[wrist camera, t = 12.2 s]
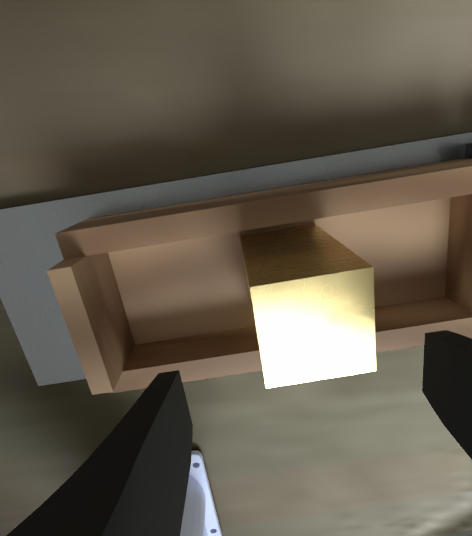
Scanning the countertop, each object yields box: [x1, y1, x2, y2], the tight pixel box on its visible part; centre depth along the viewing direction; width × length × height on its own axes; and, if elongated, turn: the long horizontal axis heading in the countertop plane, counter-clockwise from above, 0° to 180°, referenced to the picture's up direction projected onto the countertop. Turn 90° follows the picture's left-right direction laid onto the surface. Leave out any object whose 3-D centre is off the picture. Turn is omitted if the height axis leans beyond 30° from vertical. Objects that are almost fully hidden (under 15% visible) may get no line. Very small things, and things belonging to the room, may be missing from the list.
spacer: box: [240, 224, 376, 389], centre depth 14 cm, size 4×4×7 cm
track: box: [0, 132, 472, 386], centre depth 18 cm, size 11×29×3 cm, turn 99°
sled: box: [47, 159, 472, 395], centre depth 16 cm, size 9×20×5 cm, turn 99°
